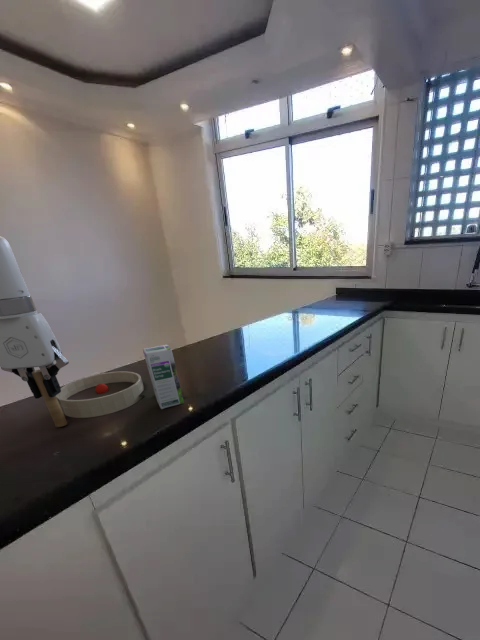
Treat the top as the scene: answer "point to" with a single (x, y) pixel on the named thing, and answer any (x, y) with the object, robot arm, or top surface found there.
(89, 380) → the ring
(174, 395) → the syrup box
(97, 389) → the ball
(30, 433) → the top surface
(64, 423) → the stick
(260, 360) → the top surface
